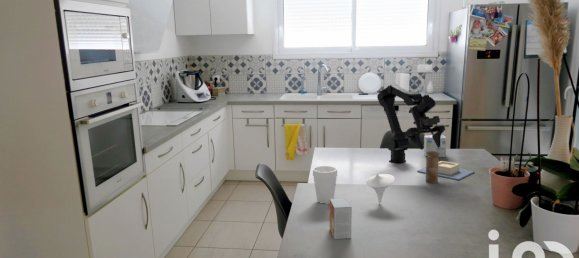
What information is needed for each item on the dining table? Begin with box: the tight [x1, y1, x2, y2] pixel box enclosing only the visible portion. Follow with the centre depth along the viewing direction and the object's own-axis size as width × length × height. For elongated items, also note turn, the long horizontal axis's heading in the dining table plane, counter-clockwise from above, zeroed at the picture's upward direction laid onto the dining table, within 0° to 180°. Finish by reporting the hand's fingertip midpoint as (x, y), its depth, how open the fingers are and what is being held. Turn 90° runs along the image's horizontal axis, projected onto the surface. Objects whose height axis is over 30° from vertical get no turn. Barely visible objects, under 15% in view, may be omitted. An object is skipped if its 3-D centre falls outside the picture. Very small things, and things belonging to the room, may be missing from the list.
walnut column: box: [425, 151, 440, 184], centre depth 185 cm, size 5×5×13 cm
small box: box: [329, 197, 353, 240], centre depth 135 cm, size 8×6×10 cm
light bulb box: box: [423, 134, 447, 158], centre depth 229 cm, size 11×7×11 cm, turn 84°
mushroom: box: [365, 173, 396, 204], centre depth 160 cm, size 10×11×12 cm
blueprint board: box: [417, 160, 475, 181], centre depth 199 cm, size 20×16×4 cm
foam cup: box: [312, 165, 338, 203], centre depth 164 cm, size 10×9×13 cm
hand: (430, 148), depth 193 cm, fingers open, 9 cm apart
